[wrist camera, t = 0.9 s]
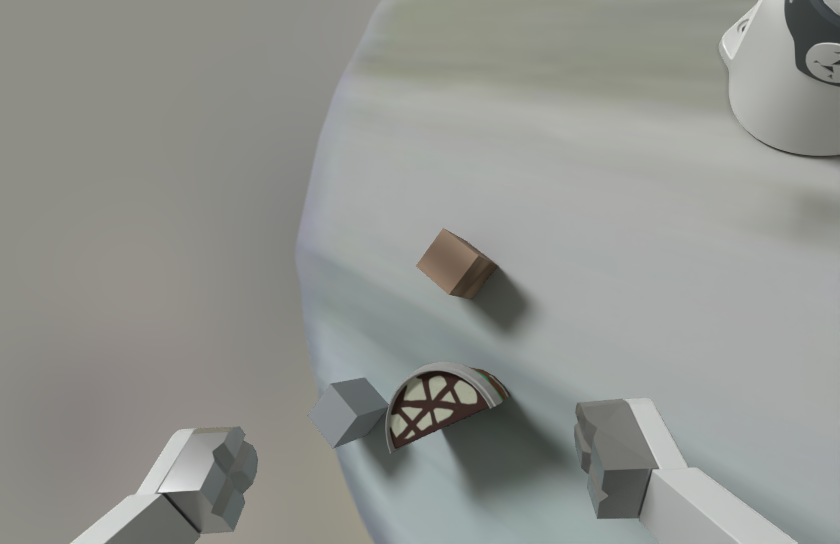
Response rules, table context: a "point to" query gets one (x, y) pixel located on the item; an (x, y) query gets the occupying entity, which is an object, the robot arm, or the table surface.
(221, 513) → the robot arm
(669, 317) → the table surface
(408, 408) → the food container
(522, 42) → the table surface
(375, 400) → the slate block
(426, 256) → the walnut block
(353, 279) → the table surface
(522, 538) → the table surface
